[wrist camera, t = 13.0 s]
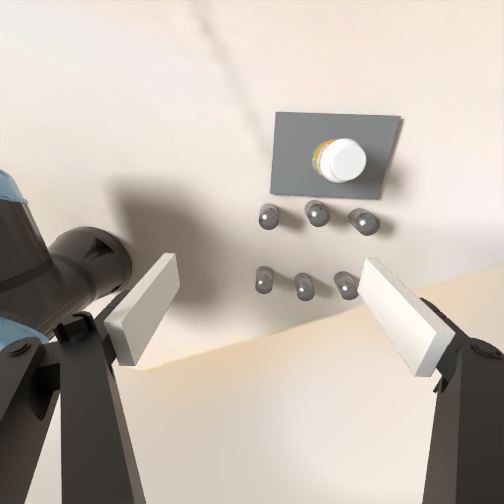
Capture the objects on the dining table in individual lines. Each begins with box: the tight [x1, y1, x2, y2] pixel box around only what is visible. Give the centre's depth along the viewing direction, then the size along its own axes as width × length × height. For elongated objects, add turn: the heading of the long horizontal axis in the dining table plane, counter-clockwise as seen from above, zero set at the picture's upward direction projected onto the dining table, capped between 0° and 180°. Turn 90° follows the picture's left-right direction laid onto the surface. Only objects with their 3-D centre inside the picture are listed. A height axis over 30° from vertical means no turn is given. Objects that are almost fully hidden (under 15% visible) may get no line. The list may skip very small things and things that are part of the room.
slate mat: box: [270, 112, 401, 199], centre depth 35 cm, size 18×12×1 cm, turn 88°
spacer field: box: [255, 200, 380, 301], centre depth 40 cm, size 19×18×5 cm
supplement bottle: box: [312, 138, 366, 183], centre depth 30 cm, size 5×5×10 cm
